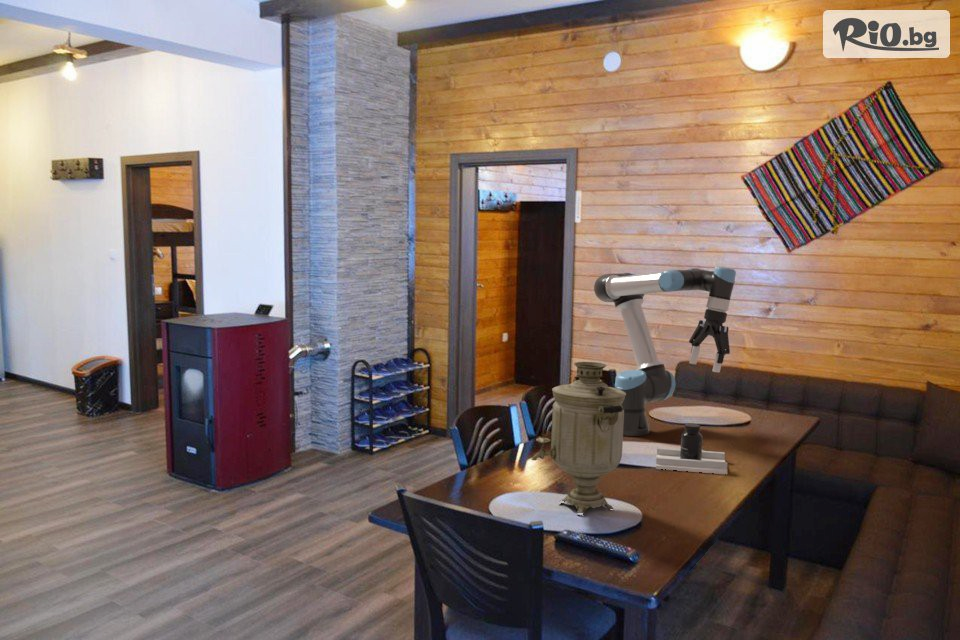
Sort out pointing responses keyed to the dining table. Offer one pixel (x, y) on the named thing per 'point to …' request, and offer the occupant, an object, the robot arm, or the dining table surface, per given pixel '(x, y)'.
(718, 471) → the rail cradle
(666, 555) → the dining table surface
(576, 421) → the samovar
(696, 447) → the supplement bottle
